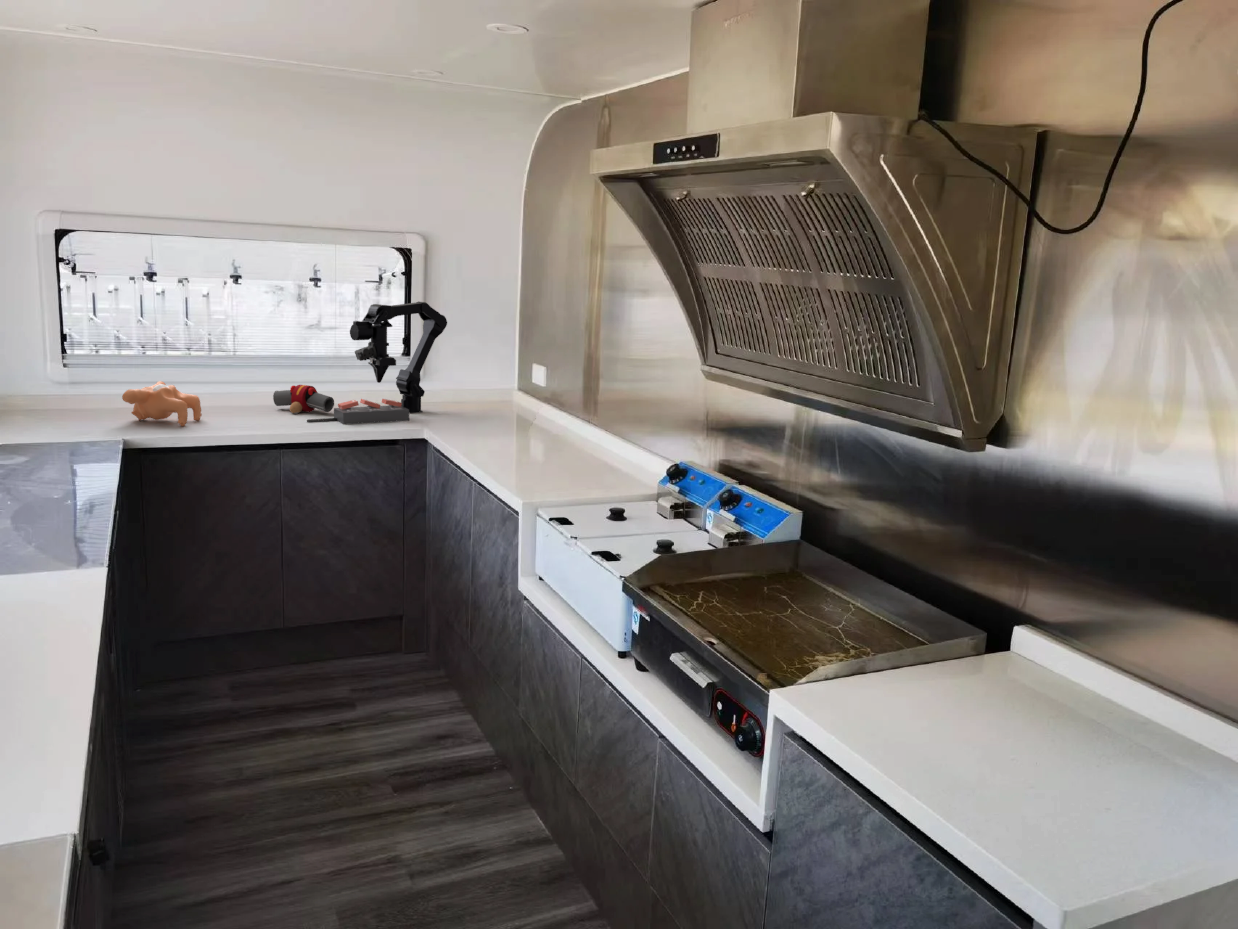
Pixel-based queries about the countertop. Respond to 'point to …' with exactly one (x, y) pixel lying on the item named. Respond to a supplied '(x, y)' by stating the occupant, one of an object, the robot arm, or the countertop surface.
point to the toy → (303, 399)
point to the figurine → (162, 403)
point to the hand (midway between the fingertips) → (378, 382)
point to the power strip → (367, 415)
